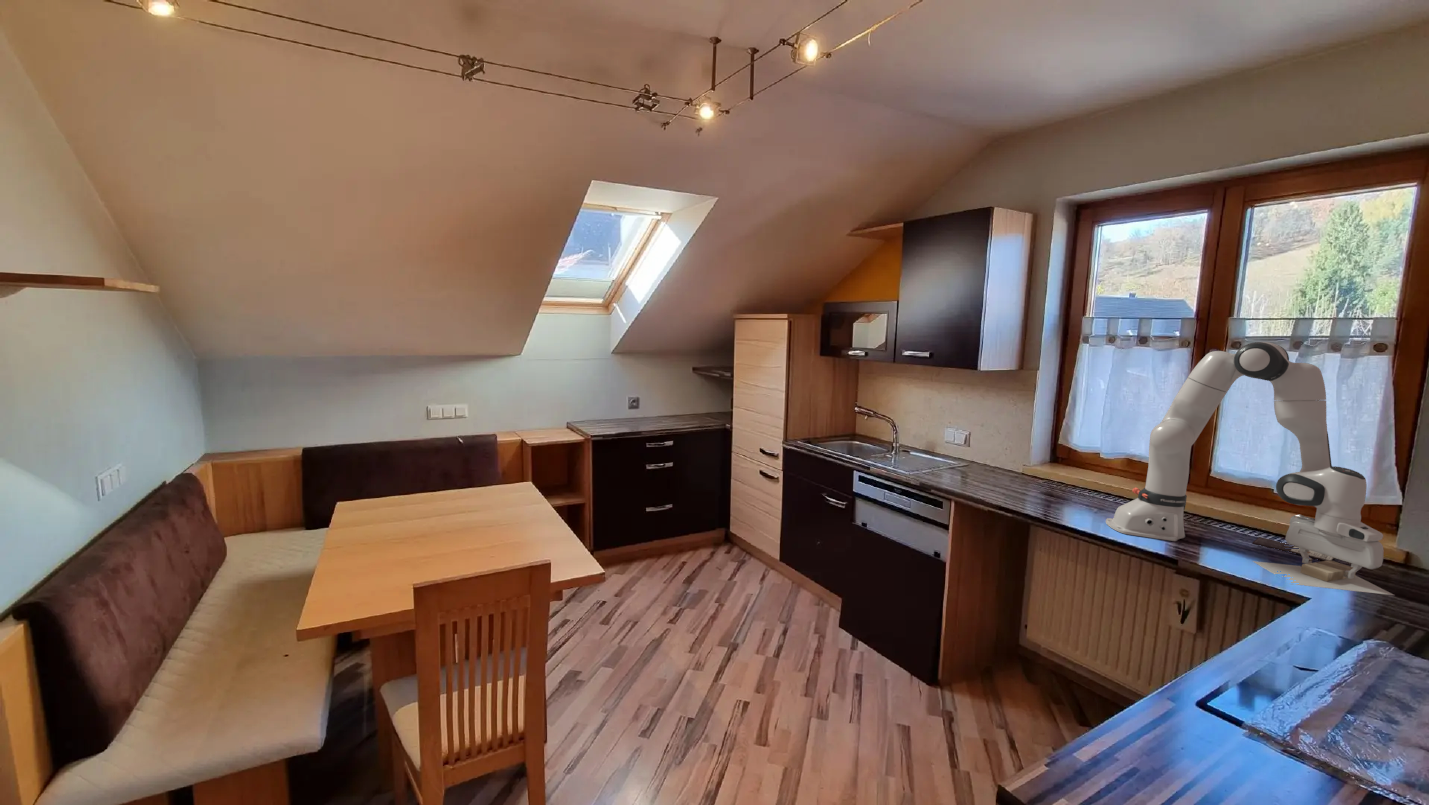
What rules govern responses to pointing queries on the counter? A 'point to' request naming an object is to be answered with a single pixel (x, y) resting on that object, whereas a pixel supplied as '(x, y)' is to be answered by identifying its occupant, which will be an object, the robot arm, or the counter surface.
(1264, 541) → the chocolate bar
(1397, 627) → the counter surface
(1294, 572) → the mat
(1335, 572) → the birch box
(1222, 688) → the counter surface
